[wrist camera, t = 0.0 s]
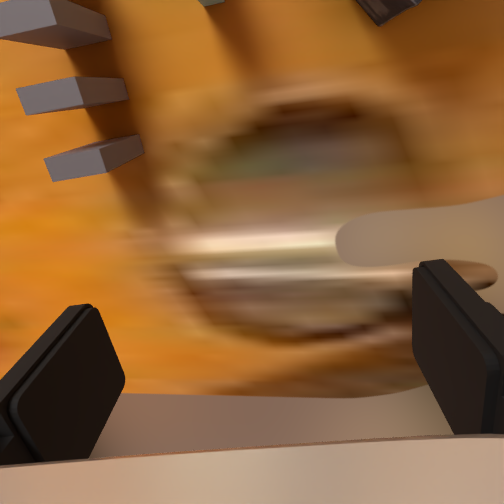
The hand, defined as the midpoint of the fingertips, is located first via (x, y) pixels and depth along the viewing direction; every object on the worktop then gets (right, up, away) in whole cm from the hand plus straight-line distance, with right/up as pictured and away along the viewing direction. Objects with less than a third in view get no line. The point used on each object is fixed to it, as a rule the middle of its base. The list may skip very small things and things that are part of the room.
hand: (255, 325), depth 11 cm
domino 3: (-14, +14, +29) cm, 36 cm away
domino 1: (-16, +23, +25) cm, 38 cm away
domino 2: (-15, +19, +27) cm, 36 cm away
